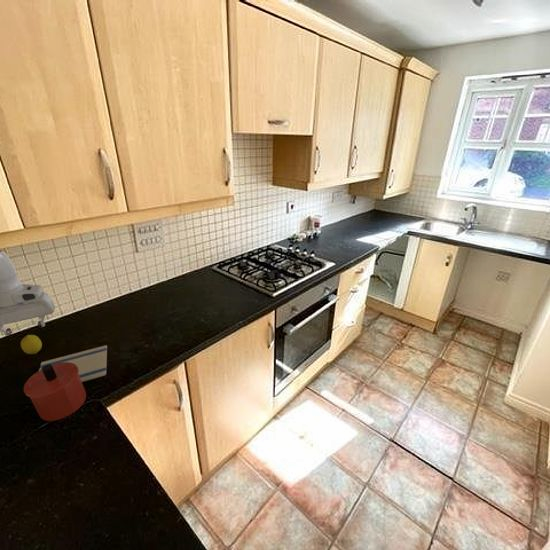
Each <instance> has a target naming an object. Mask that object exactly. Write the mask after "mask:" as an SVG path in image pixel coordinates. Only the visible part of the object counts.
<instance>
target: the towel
mask: <svg viewBox="0 0 550 550" xmlns="http://www.w3.org/2000/svg"><path fill="white" fill-rule="evenodd" d="M107 357H108V345H107V344H105V345H102V346H98V347H94V348H91V349H86V350H83V351H79V352H75V353H72V354H67V355H64V356H60V357H56V358H53V359H48V360H45V361H41V363H40V366H39V369H38V371H40V370H41V369H42V367H44V366H45V365H48V364H51V365H53V364H57V363H63V362H69V363H73V364H75V365H76V366H77V367H78V374H79V377H80V379H81V382H82V383H83V382H87V381H90V380H94V379H97V378H101V377H104V376H106V375H107V361H108V360H107V359H108V358H107Z"/></svg>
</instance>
